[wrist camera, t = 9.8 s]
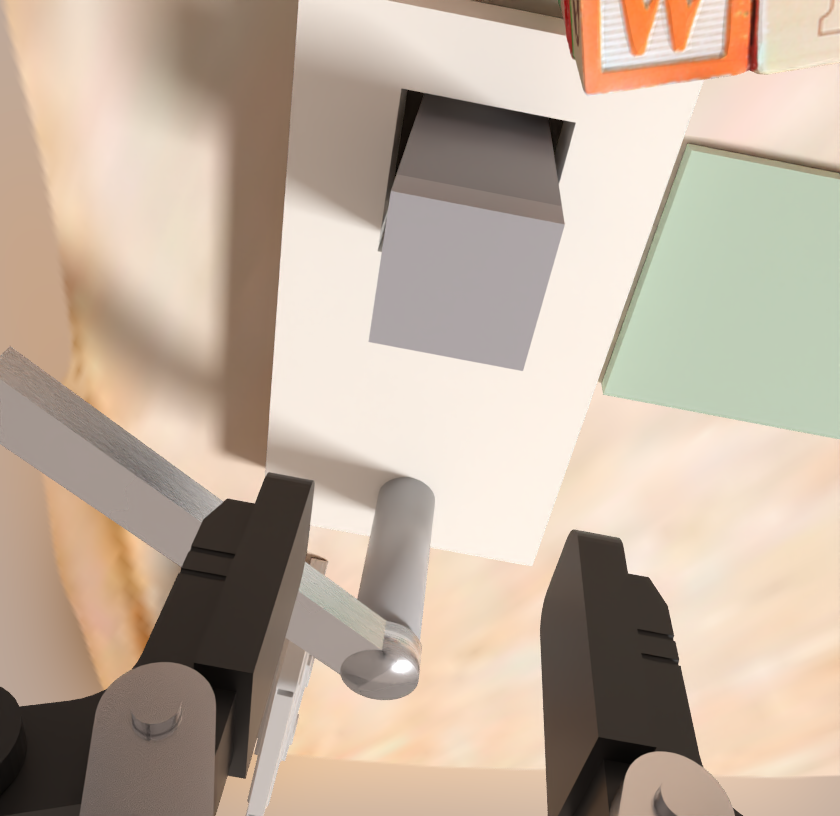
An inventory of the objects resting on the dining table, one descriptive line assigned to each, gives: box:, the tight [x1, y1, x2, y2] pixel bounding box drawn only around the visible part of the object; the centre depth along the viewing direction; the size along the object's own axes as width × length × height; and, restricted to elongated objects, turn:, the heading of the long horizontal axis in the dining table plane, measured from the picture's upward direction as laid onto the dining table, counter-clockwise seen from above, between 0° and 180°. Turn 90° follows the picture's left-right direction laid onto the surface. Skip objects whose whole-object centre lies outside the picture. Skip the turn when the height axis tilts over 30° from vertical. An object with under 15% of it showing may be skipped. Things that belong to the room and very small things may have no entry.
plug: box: [368, 93, 565, 371], centre depth 24 cm, size 4×4×10 cm
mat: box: [602, 143, 840, 439], centre depth 30 cm, size 10×10×1 cm
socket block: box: [265, 0, 704, 640], centre depth 27 cm, size 21×12×10 cm, turn 170°
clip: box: [0, 347, 422, 700], centre depth 25 cm, size 16×3×1 cm, turn 45°
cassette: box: [246, 558, 328, 816], centre depth 41 cm, size 12×2×8 cm, turn 166°
